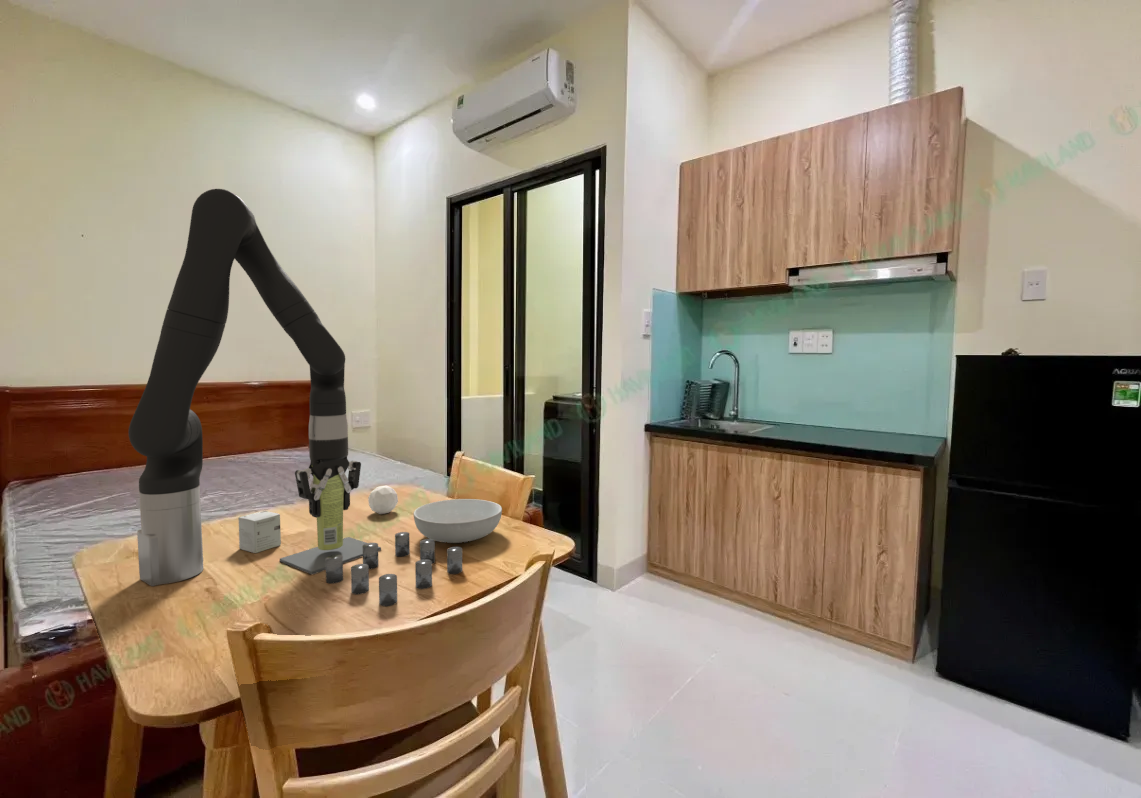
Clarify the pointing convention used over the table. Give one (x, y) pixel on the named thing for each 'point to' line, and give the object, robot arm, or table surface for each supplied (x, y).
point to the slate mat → (324, 556)
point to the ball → (383, 499)
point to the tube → (330, 514)
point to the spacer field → (390, 580)
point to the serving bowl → (457, 519)
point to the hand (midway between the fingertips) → (330, 512)
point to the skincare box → (259, 531)
